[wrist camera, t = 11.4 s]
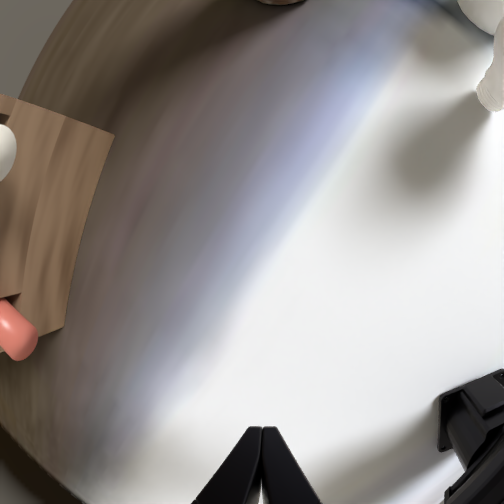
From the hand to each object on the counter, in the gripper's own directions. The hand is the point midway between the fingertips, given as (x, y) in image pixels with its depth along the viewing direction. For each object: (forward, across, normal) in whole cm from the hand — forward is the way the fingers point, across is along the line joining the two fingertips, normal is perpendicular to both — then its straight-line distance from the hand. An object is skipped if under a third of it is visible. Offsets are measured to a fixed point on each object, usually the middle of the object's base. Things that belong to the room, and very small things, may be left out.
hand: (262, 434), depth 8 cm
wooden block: (+16, +19, -5) cm, 25 cm away
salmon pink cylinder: (+9, +19, +1) cm, 21 cm away
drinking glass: (+14, -21, -24) cm, 35 cm away
